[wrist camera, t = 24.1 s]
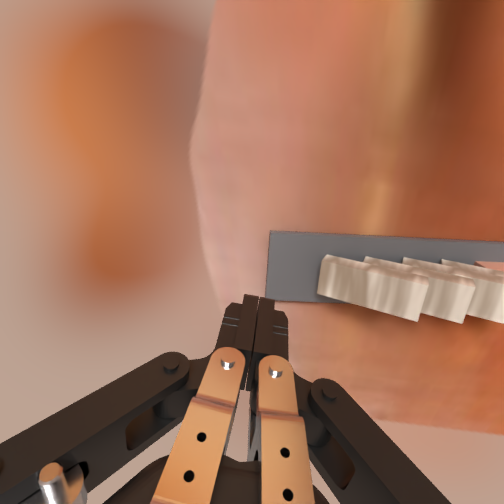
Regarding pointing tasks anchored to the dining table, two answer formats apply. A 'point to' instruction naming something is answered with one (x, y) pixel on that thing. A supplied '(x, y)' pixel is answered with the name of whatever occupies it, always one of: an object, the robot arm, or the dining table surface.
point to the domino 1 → (373, 286)
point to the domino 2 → (438, 290)
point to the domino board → (356, 257)
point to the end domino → (490, 265)
